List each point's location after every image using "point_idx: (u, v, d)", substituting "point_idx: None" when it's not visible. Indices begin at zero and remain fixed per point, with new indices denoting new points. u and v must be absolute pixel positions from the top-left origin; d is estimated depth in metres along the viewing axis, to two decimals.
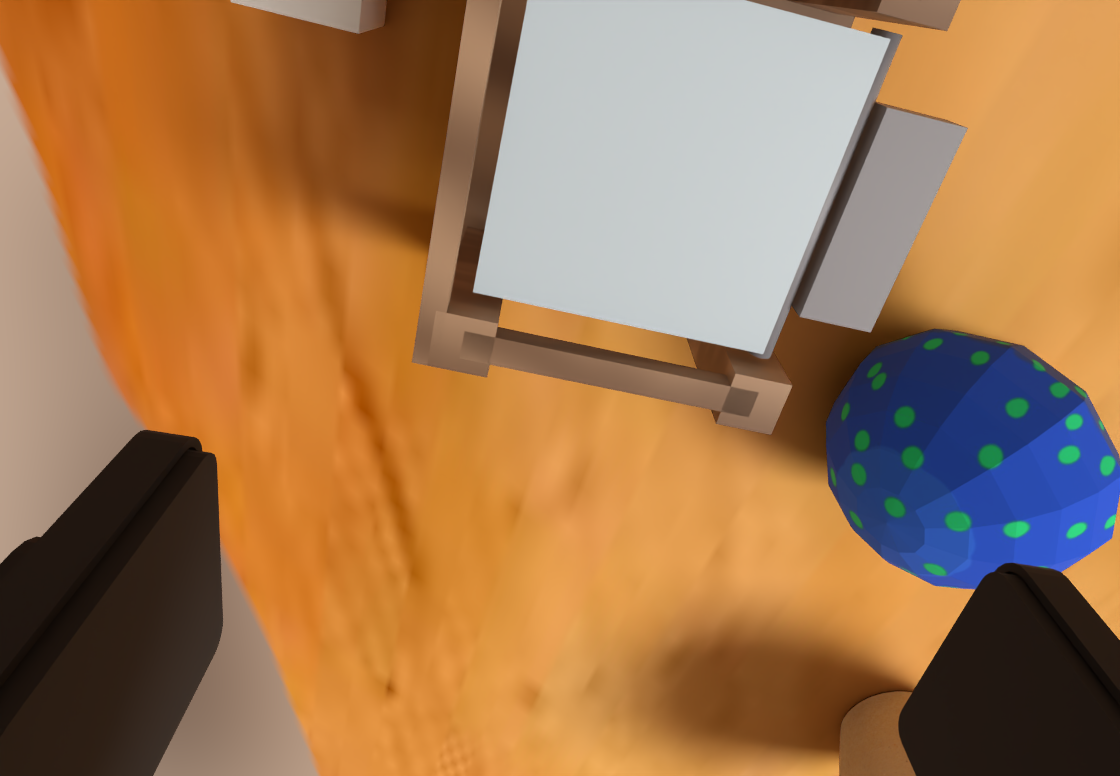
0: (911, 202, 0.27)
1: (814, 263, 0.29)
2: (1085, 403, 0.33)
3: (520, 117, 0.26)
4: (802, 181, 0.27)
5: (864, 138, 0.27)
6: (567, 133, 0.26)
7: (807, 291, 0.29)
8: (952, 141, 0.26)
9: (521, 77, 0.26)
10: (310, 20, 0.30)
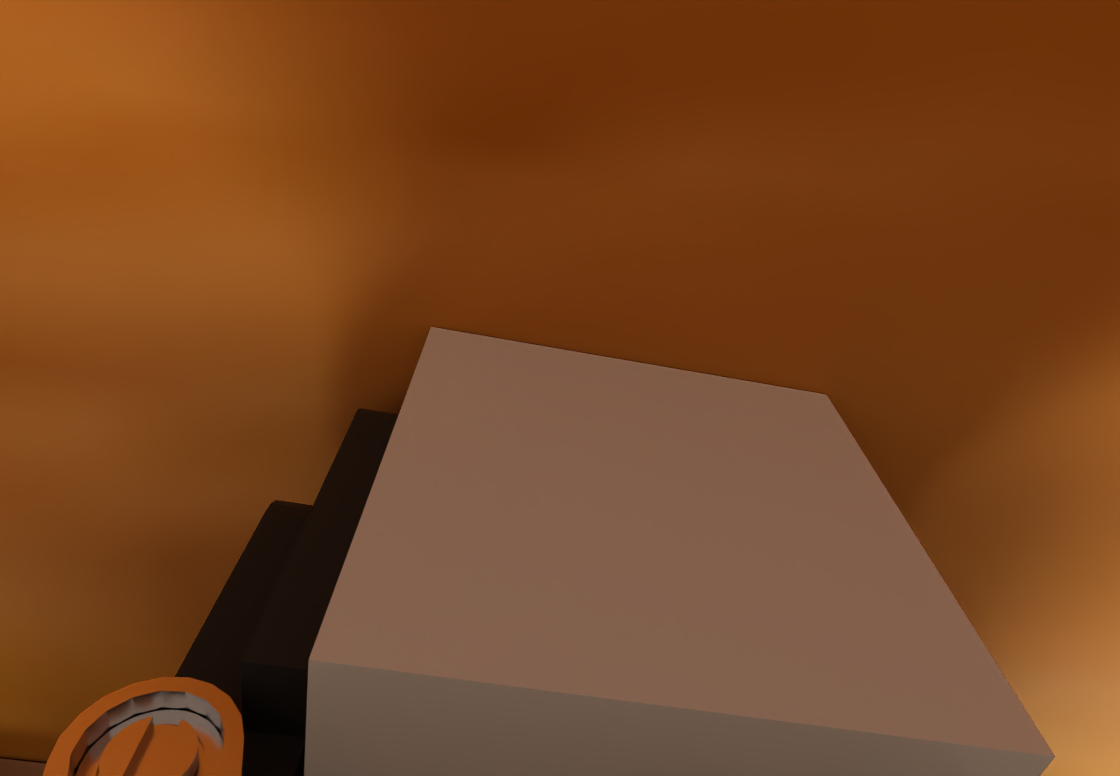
0: None
1: None
2: None
3: None
4: None
5: None
6: None
7: None
8: None
9: None
10: None
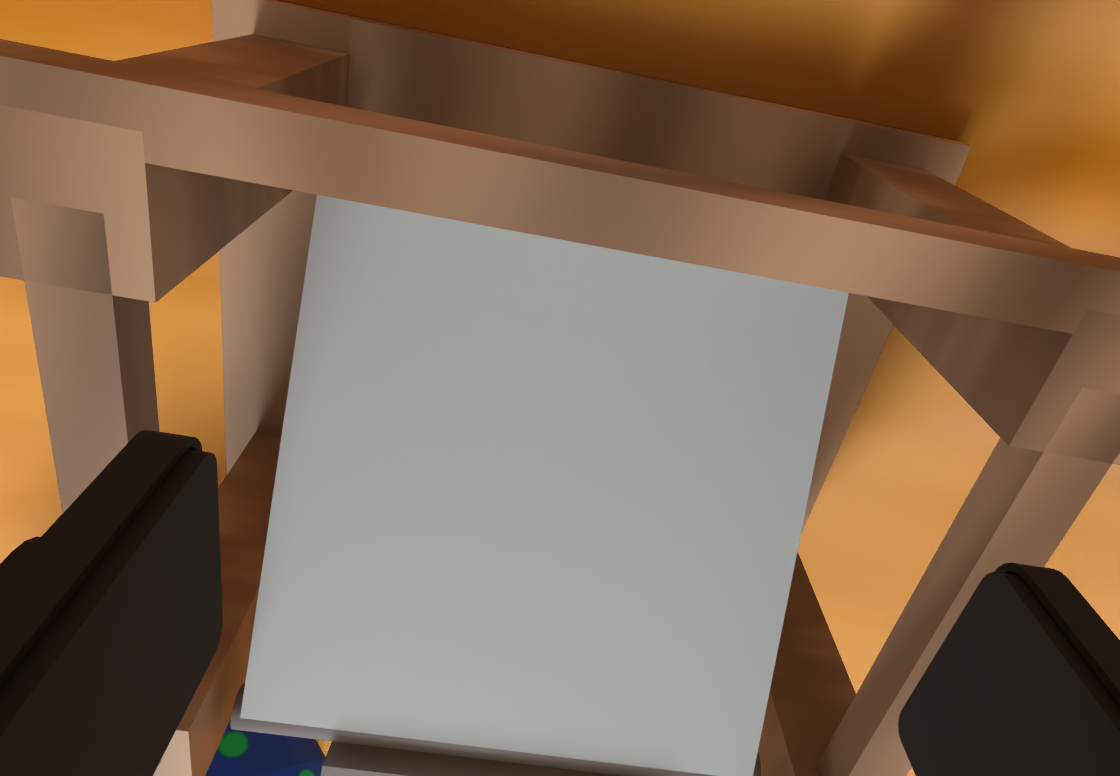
0: None
1: (415, 759, 0.18)
2: None
3: (624, 263, 0.17)
4: (551, 710, 0.17)
5: None
6: (603, 339, 0.17)
7: (368, 764, 0.17)
8: None
9: (682, 263, 0.17)
10: None
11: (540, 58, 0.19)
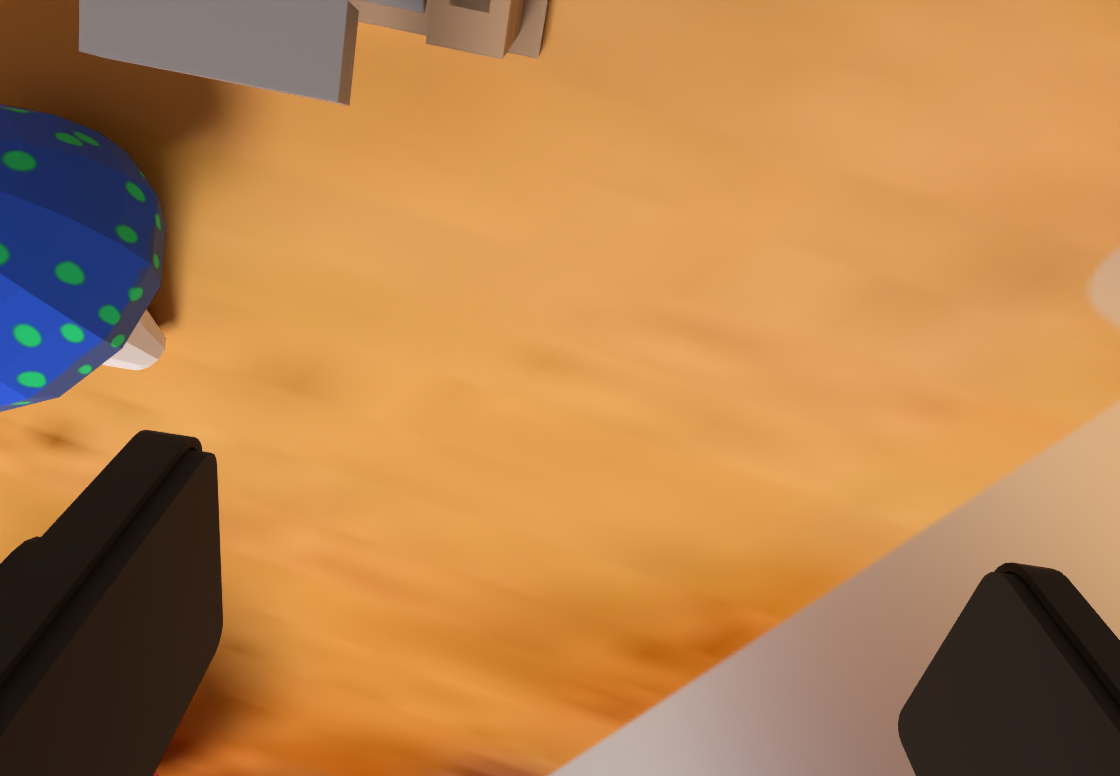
0: (249, 59, 0.24)
1: None
2: (101, 341, 0.30)
3: None
4: None
5: None
6: None
7: None
8: (321, 88, 0.24)
9: None
10: None
11: None
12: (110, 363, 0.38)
